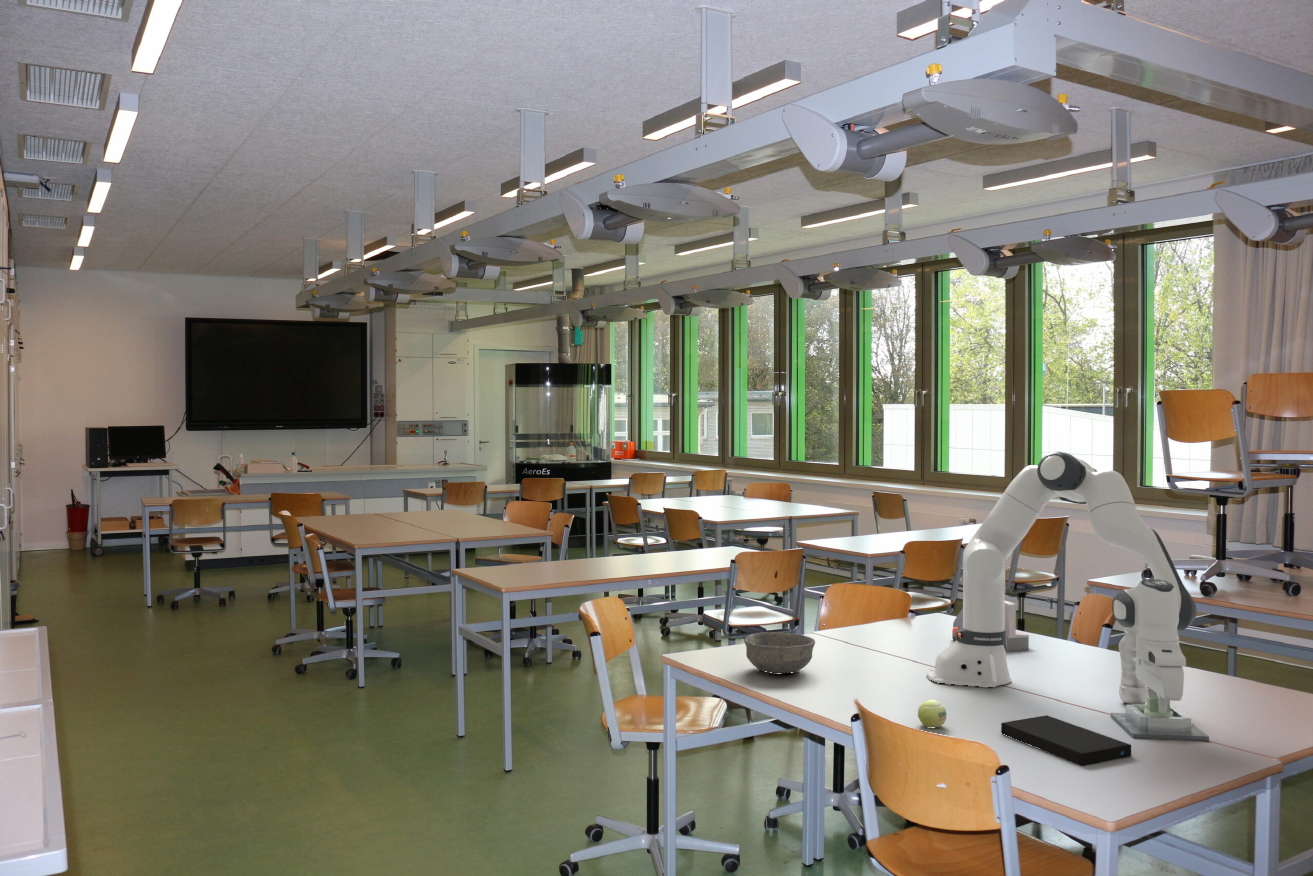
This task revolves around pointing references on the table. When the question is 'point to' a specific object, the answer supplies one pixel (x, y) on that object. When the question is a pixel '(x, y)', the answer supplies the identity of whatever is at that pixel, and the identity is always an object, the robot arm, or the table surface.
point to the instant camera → (1014, 637)
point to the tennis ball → (932, 713)
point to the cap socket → (1158, 724)
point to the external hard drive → (1066, 740)
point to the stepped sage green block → (1152, 708)
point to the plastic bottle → (1130, 670)
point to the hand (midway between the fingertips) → (1157, 709)
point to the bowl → (779, 651)
